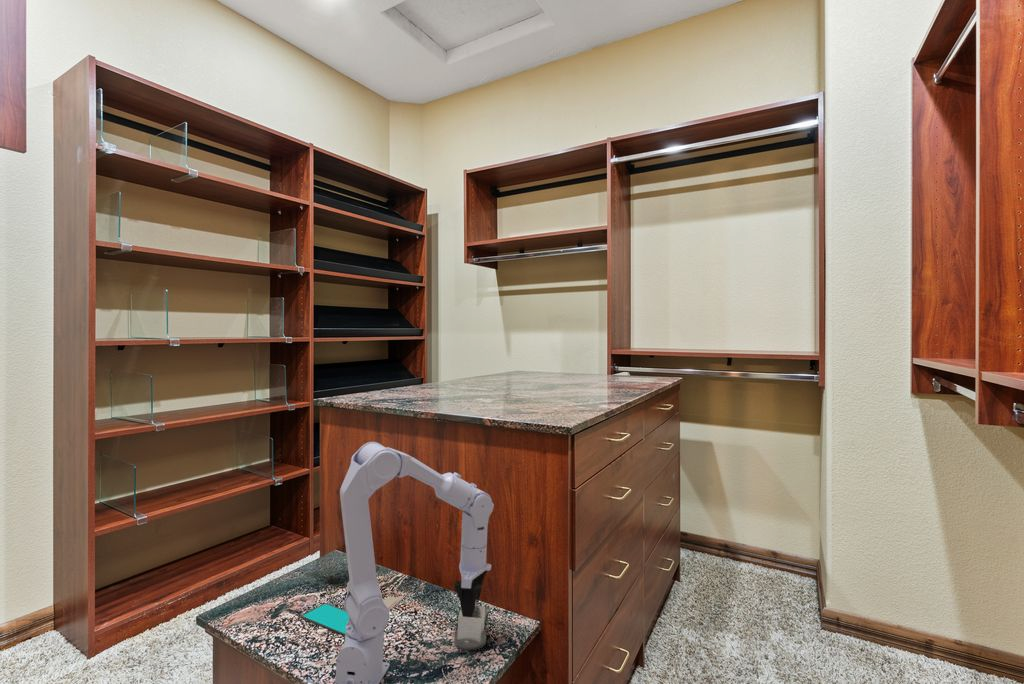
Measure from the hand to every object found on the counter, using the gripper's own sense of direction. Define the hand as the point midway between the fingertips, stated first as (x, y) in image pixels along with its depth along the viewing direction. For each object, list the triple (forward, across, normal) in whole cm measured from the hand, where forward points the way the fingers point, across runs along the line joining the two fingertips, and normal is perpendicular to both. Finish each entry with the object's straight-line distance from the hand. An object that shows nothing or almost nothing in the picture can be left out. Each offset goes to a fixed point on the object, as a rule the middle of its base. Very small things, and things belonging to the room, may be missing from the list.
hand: (471, 607), depth 104 cm
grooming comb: (+8, +15, +30) cm, 34 cm away
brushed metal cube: (+6, 0, 0) cm, 6 cm away
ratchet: (+7, +4, 0) cm, 8 cm away
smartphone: (+8, +3, +33) cm, 34 cm away
